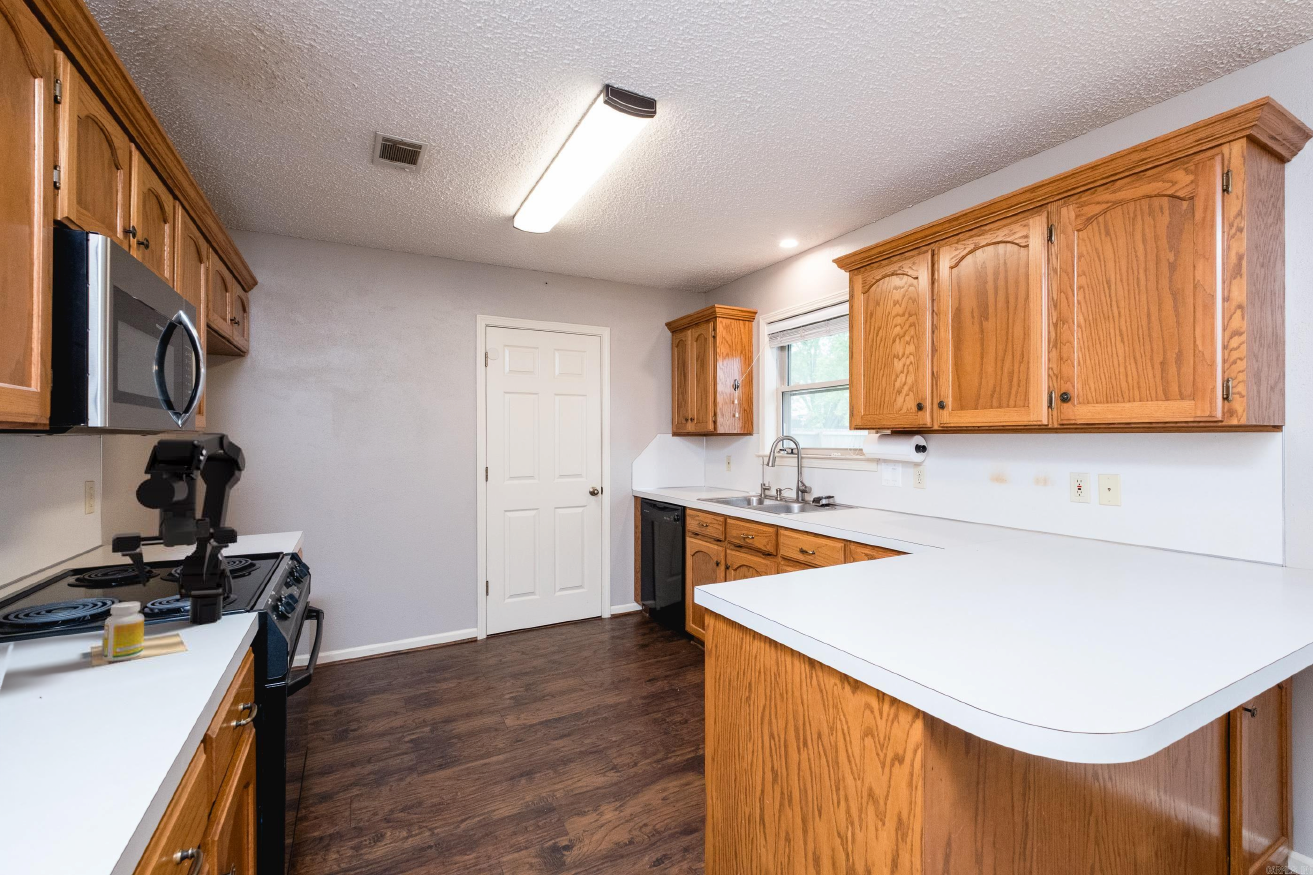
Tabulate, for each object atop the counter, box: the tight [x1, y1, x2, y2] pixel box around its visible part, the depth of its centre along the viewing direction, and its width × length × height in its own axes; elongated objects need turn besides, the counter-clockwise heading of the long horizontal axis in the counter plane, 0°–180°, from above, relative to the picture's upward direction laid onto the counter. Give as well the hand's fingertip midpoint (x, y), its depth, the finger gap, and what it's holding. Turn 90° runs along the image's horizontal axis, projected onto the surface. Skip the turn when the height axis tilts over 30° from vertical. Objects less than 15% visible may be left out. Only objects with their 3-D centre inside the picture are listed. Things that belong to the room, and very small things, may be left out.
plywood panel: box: [90, 633, 188, 668], centre depth 112 cm, size 14×13×1 cm
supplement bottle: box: [103, 600, 145, 662], centre depth 107 cm, size 5×5×10 cm
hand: (175, 582), depth 115 cm, fingers open, 9 cm apart
